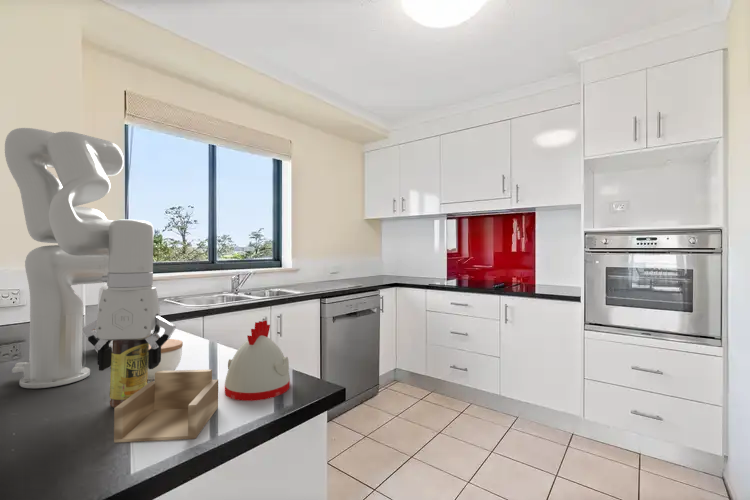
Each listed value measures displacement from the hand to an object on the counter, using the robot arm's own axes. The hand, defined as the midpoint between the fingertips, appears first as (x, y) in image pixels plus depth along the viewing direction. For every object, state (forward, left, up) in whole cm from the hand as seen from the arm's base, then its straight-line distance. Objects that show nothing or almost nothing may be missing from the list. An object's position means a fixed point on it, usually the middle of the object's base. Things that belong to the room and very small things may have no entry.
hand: (129, 367), depth 74 cm
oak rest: (+12, -10, -7) cm, 17 cm away
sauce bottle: (0, 0, -7) cm, 7 cm away
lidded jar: (-2, +17, -7) cm, 19 cm away
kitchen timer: (+24, +6, -7) cm, 26 cm away
